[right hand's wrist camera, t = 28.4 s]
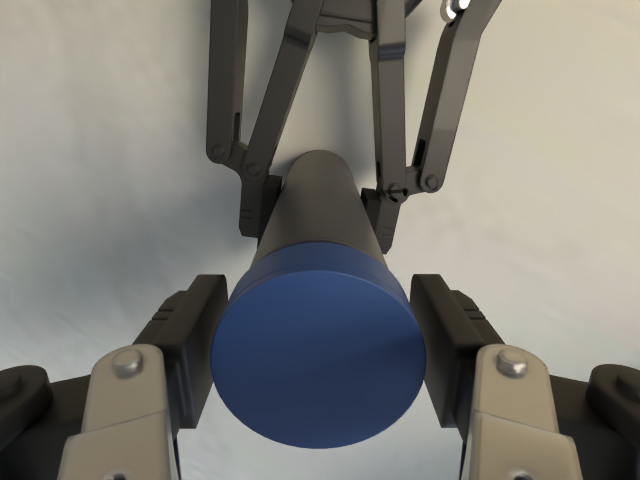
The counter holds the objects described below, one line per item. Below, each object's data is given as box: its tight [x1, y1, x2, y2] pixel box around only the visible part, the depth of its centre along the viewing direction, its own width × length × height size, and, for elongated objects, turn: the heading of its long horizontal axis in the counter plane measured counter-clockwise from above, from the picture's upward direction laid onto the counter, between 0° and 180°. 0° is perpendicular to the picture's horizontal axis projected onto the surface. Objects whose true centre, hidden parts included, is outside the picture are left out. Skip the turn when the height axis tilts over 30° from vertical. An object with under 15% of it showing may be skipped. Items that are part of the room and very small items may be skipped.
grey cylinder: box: [250, 150, 388, 269], centre depth 19 cm, size 5×5×19 cm
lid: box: [210, 242, 427, 449], centre depth 10 cm, size 5×5×2 cm
